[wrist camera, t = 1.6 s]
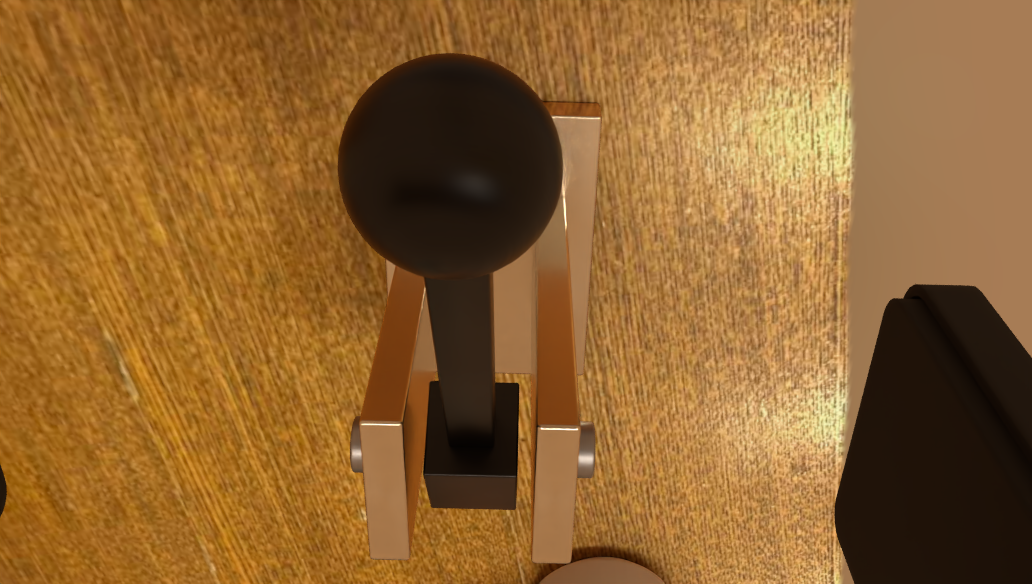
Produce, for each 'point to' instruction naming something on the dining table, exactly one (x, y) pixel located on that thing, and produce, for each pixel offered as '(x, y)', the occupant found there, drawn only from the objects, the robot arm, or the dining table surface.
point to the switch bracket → (518, 350)
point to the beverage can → (602, 573)
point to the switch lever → (456, 240)
